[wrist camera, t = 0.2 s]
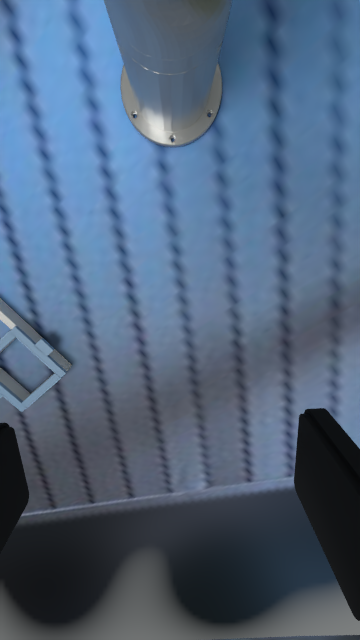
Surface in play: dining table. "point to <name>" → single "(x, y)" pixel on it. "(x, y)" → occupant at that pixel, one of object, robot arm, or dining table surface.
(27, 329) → the white ladder frame
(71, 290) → the dining table surface
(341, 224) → the dining table surface
